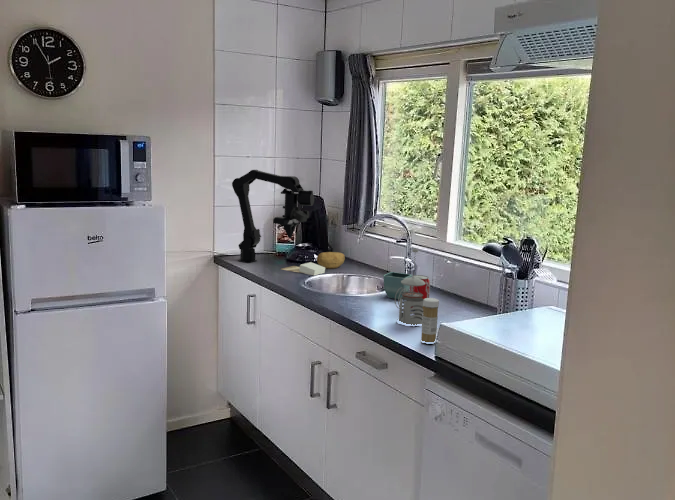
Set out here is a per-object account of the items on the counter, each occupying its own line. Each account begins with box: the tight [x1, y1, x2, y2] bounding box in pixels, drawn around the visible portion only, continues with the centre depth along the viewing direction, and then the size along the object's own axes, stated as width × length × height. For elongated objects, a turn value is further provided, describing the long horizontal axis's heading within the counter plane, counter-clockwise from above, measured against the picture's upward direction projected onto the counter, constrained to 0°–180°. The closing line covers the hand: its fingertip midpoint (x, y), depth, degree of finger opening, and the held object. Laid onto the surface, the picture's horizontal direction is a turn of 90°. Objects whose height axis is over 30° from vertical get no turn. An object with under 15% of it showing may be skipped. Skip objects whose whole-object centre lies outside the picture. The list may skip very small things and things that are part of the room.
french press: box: [394, 247, 426, 325], centre depth 204 cm, size 10×12×25 cm
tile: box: [299, 261, 326, 276], centre depth 273 cm, size 3×8×8 cm
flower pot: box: [382, 271, 413, 300], centre depth 239 cm, size 9×9×9 cm
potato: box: [316, 251, 346, 270], centre depth 287 cm, size 10×14×8 cm
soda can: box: [409, 274, 431, 308], centre depth 223 cm, size 7×7×12 cm
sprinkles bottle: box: [420, 297, 440, 342], centre depth 185 cm, size 5×5×14 cm
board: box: [281, 265, 305, 274], centre depth 279 cm, size 13×10×1 cm
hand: (289, 237), depth 288 cm, fingers closed
